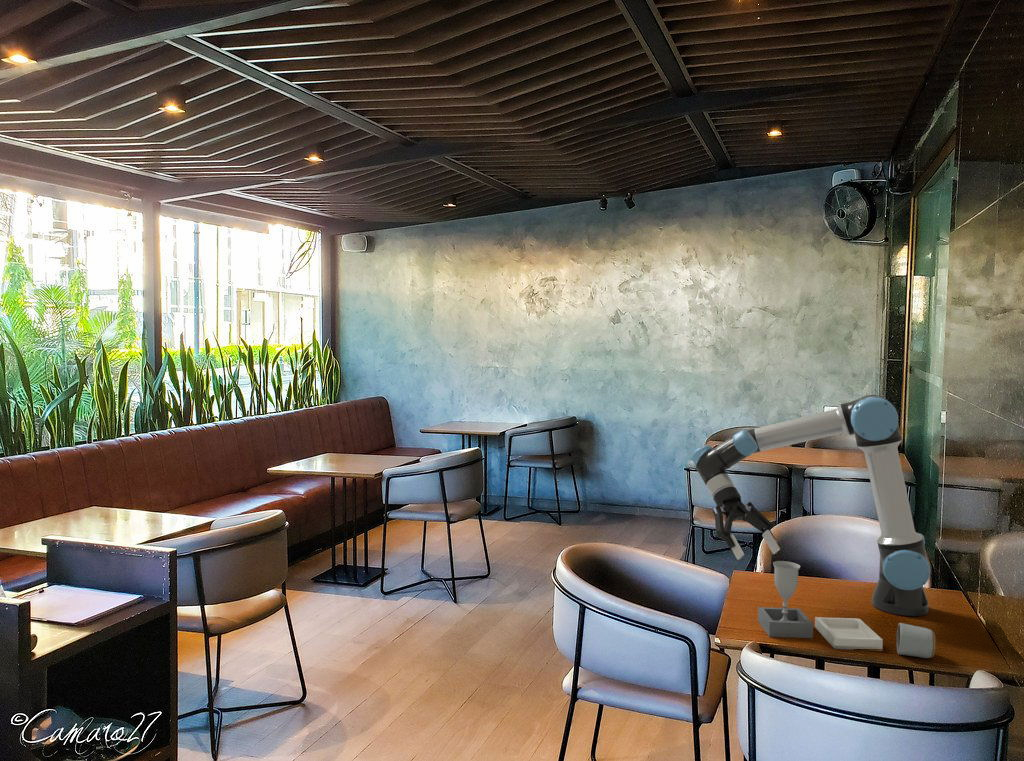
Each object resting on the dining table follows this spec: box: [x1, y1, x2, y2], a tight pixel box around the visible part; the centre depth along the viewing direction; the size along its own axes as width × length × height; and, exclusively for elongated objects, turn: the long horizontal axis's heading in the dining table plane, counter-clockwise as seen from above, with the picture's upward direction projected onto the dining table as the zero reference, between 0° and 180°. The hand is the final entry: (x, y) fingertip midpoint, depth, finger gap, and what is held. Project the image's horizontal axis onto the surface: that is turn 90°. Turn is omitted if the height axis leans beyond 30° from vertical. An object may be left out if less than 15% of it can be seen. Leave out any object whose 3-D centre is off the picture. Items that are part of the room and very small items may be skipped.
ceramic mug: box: [896, 622, 936, 659], centre depth 194 cm, size 11×8×8 cm
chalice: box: [772, 560, 801, 621], centre depth 208 cm, size 7×7×18 cm
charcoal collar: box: [757, 606, 814, 639], centre depth 209 cm, size 11×11×4 cm
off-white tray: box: [814, 616, 884, 650], centre depth 203 cm, size 12×15×3 cm
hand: (759, 554), depth 217 cm, fingers open, 13 cm apart
